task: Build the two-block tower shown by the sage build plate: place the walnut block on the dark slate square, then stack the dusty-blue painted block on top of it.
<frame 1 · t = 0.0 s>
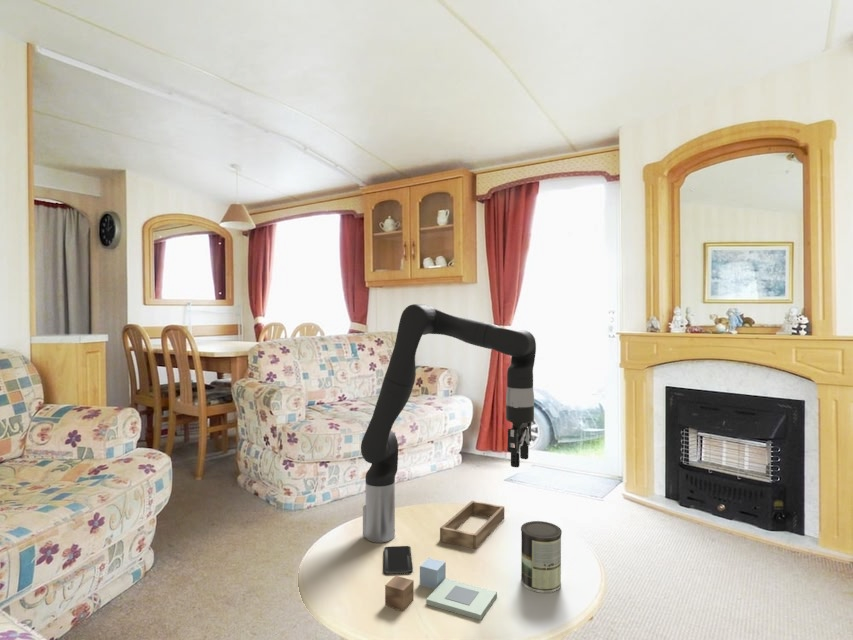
hand: (519, 462, 138), 29 cm above the table, fingers open, 8 cm apart
phone: (398, 562, 143), on the table
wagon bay: (473, 528, 165), on the table
coffee can: (540, 583, 132), on the table
walnut block: (399, 603, 122), on the table
blue block: (432, 583, 131), on the table
build plate: (462, 600, 123), on the table
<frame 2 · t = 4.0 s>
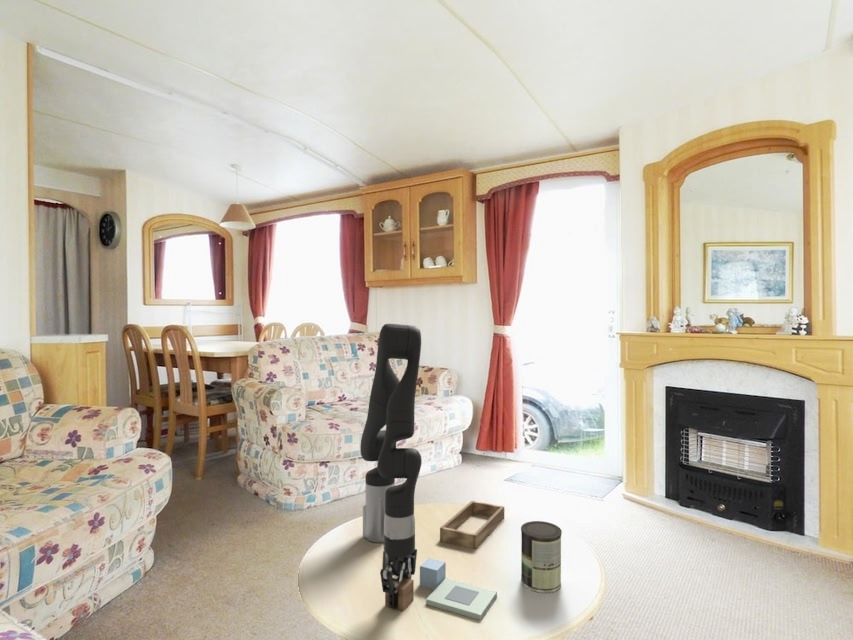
hand: (399, 600, 122), 0 cm above the table, fingers closed on walnut block, 5 cm apart
walnut block: (399, 602, 122), on the table, touching gripper
everything else where it was.
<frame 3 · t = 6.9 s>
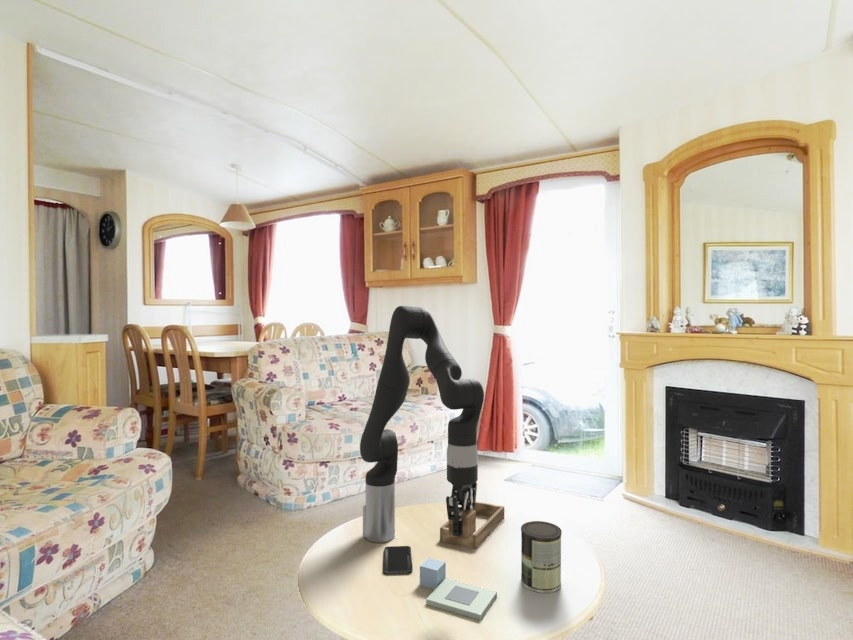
hand: (462, 530, 123), 17 cm above the table, fingers closed on walnut block, 5 cm apart
walnut block: (462, 532, 123), point 16 cm above the table, touching gripper
everything else where it was.
when the fingers open (3 cm above the table, at t = 9.9 s): walnut block drops 1 cm, resting on build plate.
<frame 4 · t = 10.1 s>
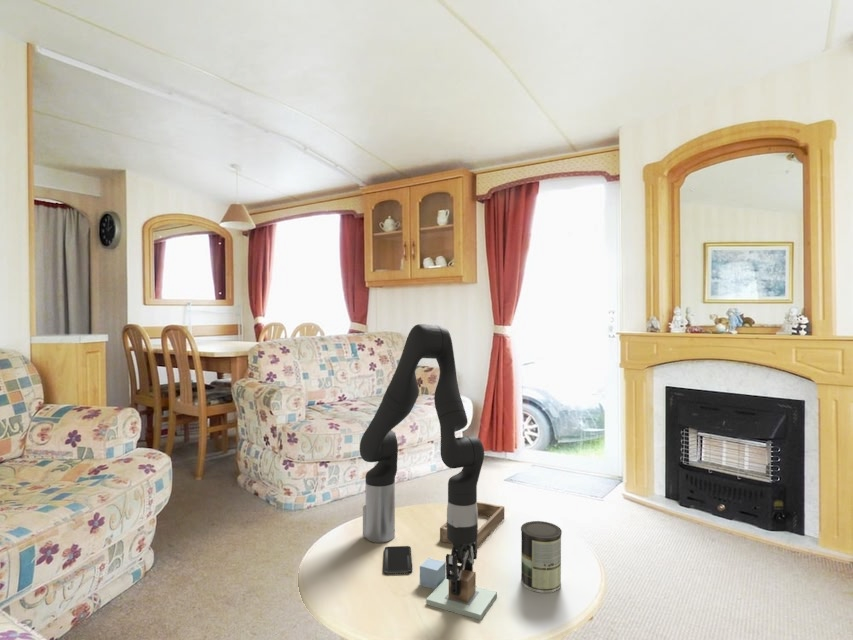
hand: (462, 586, 123), 3 cm above the table, fingers open, 7 cm apart
walnut block: (462, 594, 123), point 1 cm above the table, touching build plate
everything else where it was.
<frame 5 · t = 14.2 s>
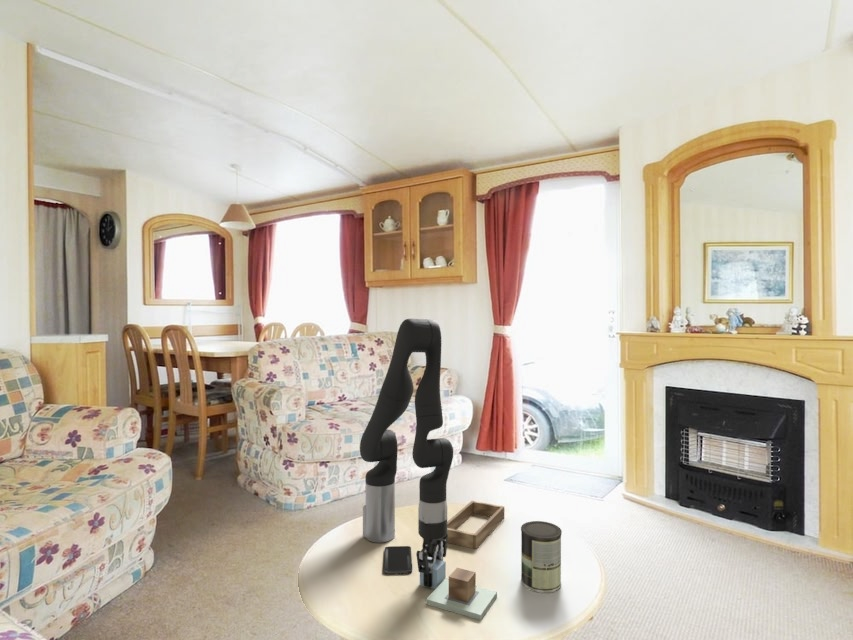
hand: (432, 580, 131), 0 cm above the table, fingers closed on blue block, 5 cm apart
blue block: (432, 582, 131), on the table, touching gripper
everything else where it was.
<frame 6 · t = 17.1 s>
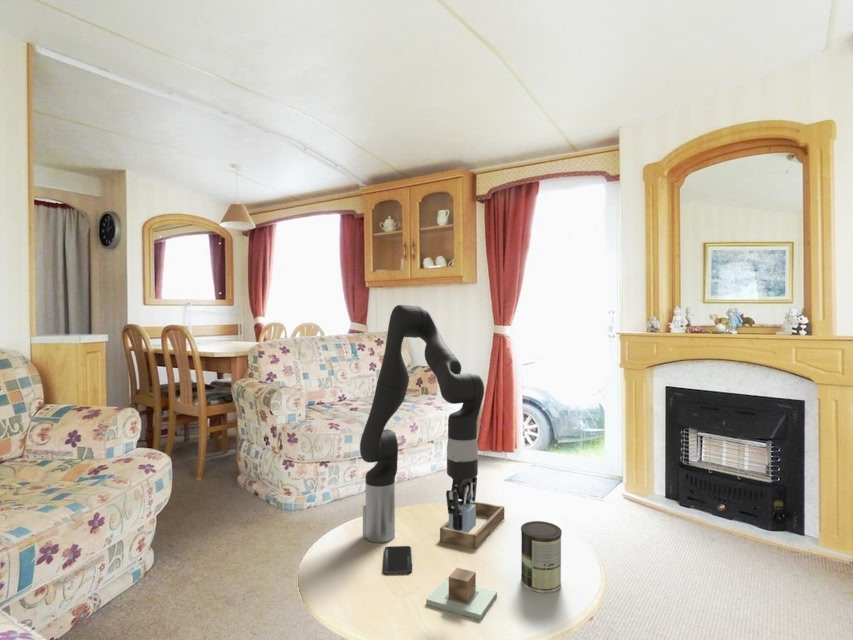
hand: (462, 525, 123), 18 cm above the table, fingers closed on blue block, 5 cm apart
blue block: (462, 527, 123), point 18 cm above the table, touching gripper
everything else where it was.
when the fingers open (8 cm above the table, at t = 19.8 s): blue block drops 1 cm, resting on walnut block.
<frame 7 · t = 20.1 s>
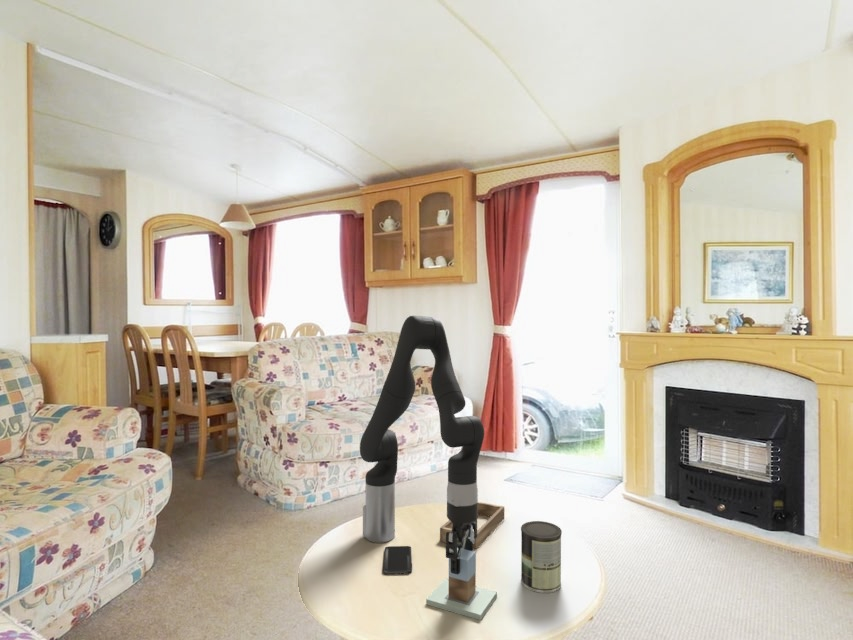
hand: (462, 565, 123), 8 cm above the table, fingers open, 7 cm apart
walnut block: (462, 594, 123), point 1 cm above the table, touching blue block, build plate
blue block: (462, 574, 123), point 6 cm above the table, touching walnut block
everything else where it was.
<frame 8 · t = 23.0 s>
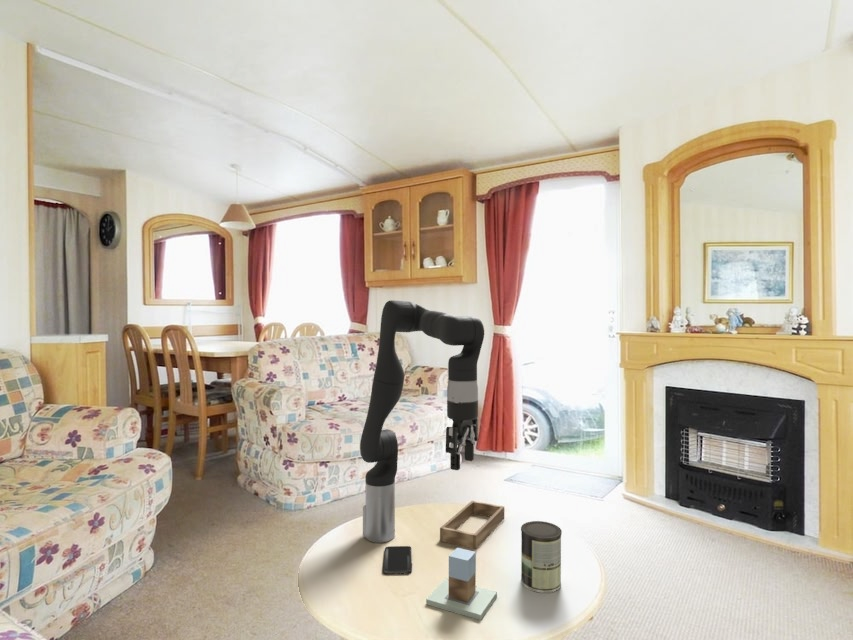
hand: (462, 464, 123), 33 cm above the table, fingers open, 8 cm apart
nothing on the table moved.
at the end: walnut block inside the target area on the build plate (0.0 cm from its centre), point 1.3 cm above the build plate's base; blue block 0.1 cm off-centre on the walnut block, point 5.0 cm above the walnut block's base; blue block tilted 0° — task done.
